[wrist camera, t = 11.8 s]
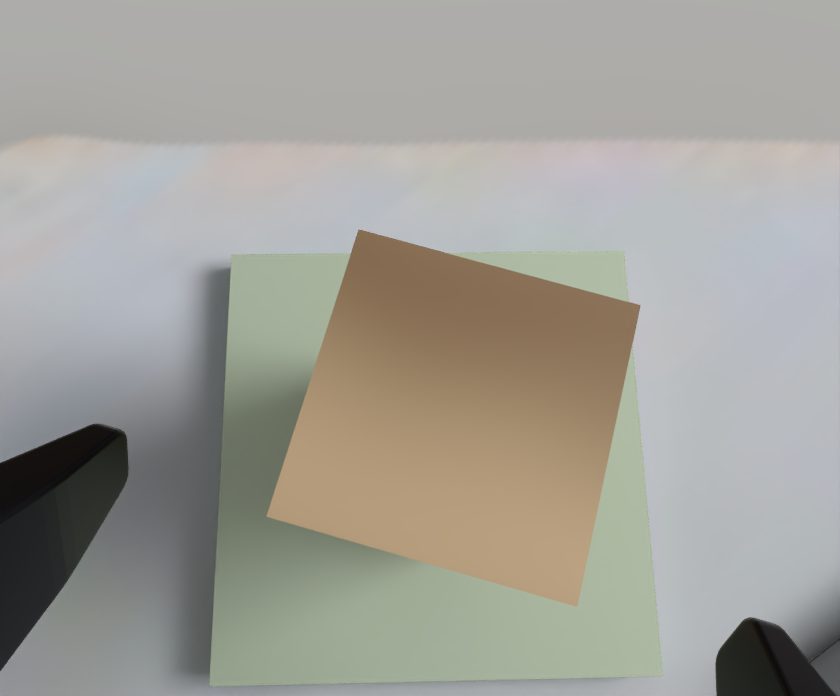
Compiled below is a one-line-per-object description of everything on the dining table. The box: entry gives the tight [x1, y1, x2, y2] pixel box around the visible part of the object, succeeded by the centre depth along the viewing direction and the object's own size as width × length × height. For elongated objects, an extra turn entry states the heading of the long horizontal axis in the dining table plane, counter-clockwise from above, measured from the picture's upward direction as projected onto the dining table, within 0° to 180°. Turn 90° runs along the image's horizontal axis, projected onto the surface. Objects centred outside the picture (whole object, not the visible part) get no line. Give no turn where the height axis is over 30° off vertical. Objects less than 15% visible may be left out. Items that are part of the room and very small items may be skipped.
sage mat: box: [209, 251, 663, 687], centre depth 19 cm, size 12×12×1 cm
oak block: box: [266, 230, 640, 607], centre depth 13 cm, size 4×4×10 cm
